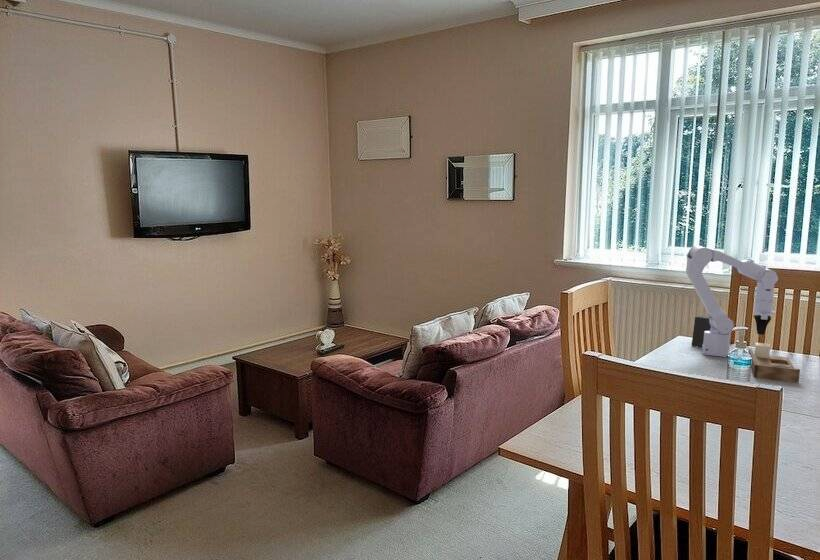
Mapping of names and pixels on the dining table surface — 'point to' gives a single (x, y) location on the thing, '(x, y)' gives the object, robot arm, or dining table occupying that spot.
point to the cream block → (762, 350)
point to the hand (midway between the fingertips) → (760, 334)
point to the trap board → (774, 368)
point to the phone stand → (700, 330)
